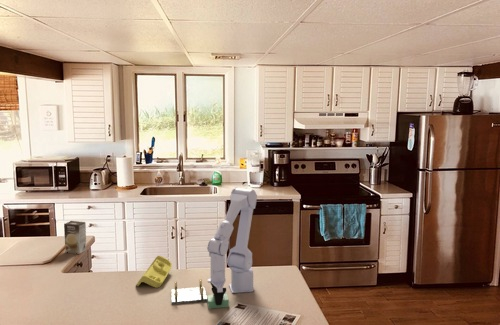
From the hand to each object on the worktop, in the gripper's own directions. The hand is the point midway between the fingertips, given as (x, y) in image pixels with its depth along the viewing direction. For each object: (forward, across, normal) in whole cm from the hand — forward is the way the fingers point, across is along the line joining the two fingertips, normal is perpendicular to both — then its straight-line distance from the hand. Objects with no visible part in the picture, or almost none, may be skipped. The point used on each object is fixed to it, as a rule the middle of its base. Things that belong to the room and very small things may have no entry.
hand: (217, 301), depth 149 cm
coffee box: (+2, -71, -69) cm, 99 cm away
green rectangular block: (+1, 0, 0) cm, 1 cm away
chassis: (+2, -9, -11) cm, 14 cm away
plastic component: (+2, -28, -25) cm, 38 cm away
